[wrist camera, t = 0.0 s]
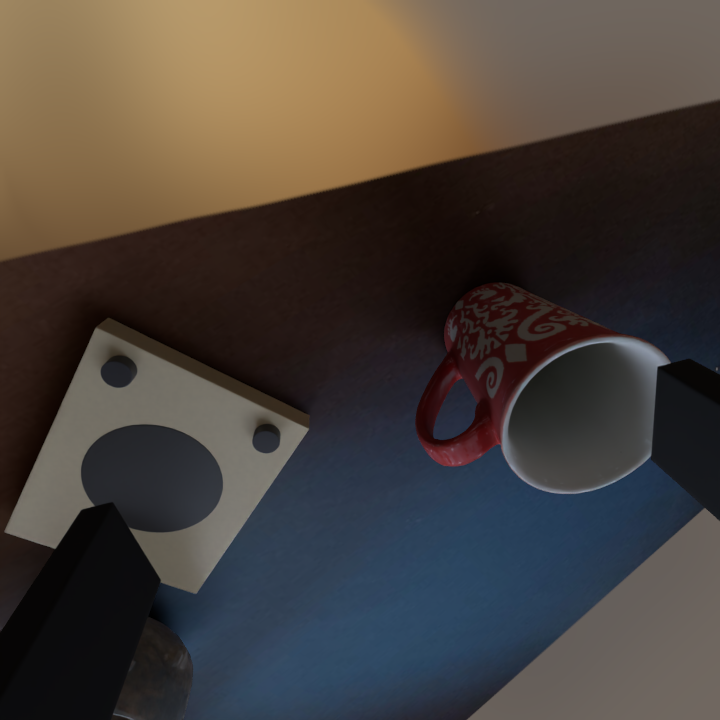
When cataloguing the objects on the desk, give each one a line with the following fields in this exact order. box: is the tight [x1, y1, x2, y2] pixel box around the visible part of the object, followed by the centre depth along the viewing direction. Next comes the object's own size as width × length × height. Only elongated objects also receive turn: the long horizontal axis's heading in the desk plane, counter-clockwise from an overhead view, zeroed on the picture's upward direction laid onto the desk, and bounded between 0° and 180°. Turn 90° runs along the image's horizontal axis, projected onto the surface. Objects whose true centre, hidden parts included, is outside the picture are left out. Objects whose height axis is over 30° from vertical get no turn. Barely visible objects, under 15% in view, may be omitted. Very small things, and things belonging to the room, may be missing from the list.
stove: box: [4, 318, 309, 594], centre depth 35 cm, size 20×16×3 cm
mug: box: [415, 283, 671, 494], centre depth 28 cm, size 13×9×14 cm
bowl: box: [111, 617, 193, 720], centre depth 39 cm, size 14×15×10 cm
